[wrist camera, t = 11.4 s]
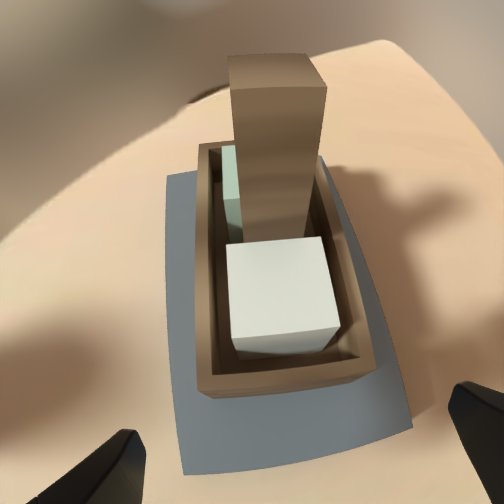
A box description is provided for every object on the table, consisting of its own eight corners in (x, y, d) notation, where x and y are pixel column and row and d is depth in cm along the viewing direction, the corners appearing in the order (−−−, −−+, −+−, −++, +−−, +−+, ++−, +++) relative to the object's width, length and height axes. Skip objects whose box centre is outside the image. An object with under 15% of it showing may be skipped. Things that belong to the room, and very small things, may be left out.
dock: (318, 173, 25) (321, 155, 23) (398, 428, 14) (413, 427, 13) (172, 193, 24) (166, 175, 22) (192, 470, 14) (183, 475, 12)
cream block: (321, 351, 14) (340, 326, 11) (239, 360, 14) (231, 338, 11) (308, 278, 16) (320, 236, 13) (233, 286, 16) (226, 244, 13)
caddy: (350, 382, 14) (511, 274, 4) (213, 398, 14) (90, 324, 4) (305, 180, 22) (323, 17, 11) (207, 187, 21) (178, 23, 11)
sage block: (300, 240, 18) (308, 192, 14) (230, 246, 18) (223, 199, 14) (289, 189, 20) (293, 141, 16) (227, 194, 20) (221, 146, 16)
